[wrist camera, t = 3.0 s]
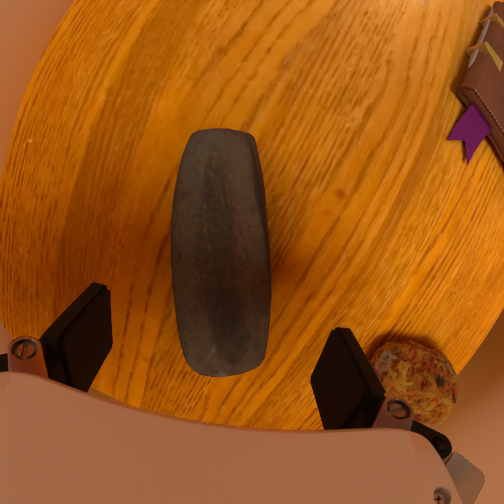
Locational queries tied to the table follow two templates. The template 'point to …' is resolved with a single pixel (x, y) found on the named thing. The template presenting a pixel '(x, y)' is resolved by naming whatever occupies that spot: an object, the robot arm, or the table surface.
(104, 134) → the table surface
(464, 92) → the book
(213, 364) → the decorative stone
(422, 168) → the table surface
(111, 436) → the robot arm
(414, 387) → the rock
